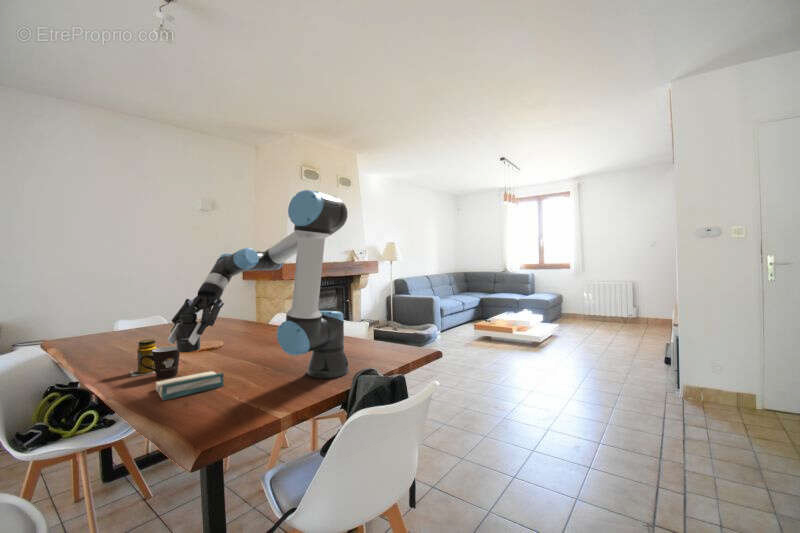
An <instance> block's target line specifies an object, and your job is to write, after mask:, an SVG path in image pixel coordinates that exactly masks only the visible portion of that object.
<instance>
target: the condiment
mask: <svg viewBox="0 0 800 533" xmlns="http://www.w3.org/2000/svg"><path fill="white" fill-rule="evenodd" d="M137 343H138V348H137V355H136V356H137V370H133V371H129V374H130V376H131V377H137V376H142V375H149V374H156V372H155V371H153V370H150V369H148V368H145V367H143V366H142V365H141V364H140V359H141V358H142V357H143V356H146V355H151V356H153V352H152V350H154V349H157V348H158V347H157V346H156V340H155V339H145V340H140V341H138V342H137ZM142 364H143V365H145V366H147V367H150V368H153V369H155V365H154V361H153V360H152V358H150V357H145V358H143V359H142Z"/></svg>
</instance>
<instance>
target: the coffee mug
mask: <svg viewBox="0 0 800 533" xmlns="http://www.w3.org/2000/svg"><path fill="white" fill-rule="evenodd" d="M152 352H153V356H151V355H146V356H143V357H142V358H141V359H140V364H141V365H142V366H143V367H145V368H148V369H150V370H153V371H155V375H156V376H155V377H156V379H159V380H161V379H163V380H166V379H169V378H170V379H171V378H175V377H176V376H178V372H179V362H180V355H181V354H180V353H181V352H178V351H177V345H173V346H172V345H169V346H162V347H157V349H154V350H152ZM145 357H150V358H152V360H153V361H154V365H155V369H153V368H150V367H147V366H145V365H143V364H142V359H143V358H145Z"/></svg>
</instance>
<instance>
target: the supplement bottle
mask: <svg viewBox="0 0 800 533" xmlns="http://www.w3.org/2000/svg"><path fill="white" fill-rule="evenodd" d="M197 320H198V313H195V314H182V315H180V321H181V322H180V323H179V324H178V325H177V340H176V346H177V351H178V352H180V353H185V354H186V353H193V352H197V351H199V350H200V349H201V335H200V336H199V338H198V340H197V341H196V343H195V345H192V344H191V343H190V342H189V341H188V339H189V338H190V336H191V334H192V332H193V331H194V329H195V327H196V326H197V324H198V323H200V321H197Z"/></svg>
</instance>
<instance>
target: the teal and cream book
mask: <svg viewBox="0 0 800 533" xmlns="http://www.w3.org/2000/svg"><path fill="white" fill-rule="evenodd" d="M221 387H224V372H220V373H217V372H215V371H214V370H209V371H204V372H198V373H194V374H188V375H183V376H178V377H172V378H170V379H169V378H167V379H163V380H159V381H155V390H156V392H157V394H158V395H159V397H160V398H161V400H162V401H166V400H171V399H175V398H178V397H183V396H184V397H185V396H187V395H192V394H195V393H196V394H197V393H201V392H204V391H205V392H206V391H209V390H214V389H218V388H221Z"/></svg>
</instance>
